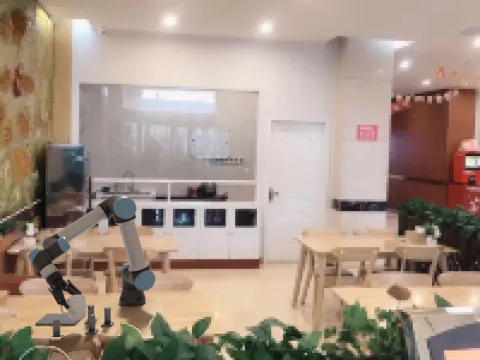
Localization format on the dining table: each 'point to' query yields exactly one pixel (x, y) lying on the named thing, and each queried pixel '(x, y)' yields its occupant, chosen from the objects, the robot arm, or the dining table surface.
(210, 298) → the dining table surface
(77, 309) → the cup
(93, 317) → the posts
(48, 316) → the mat
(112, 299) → the dining table surface
